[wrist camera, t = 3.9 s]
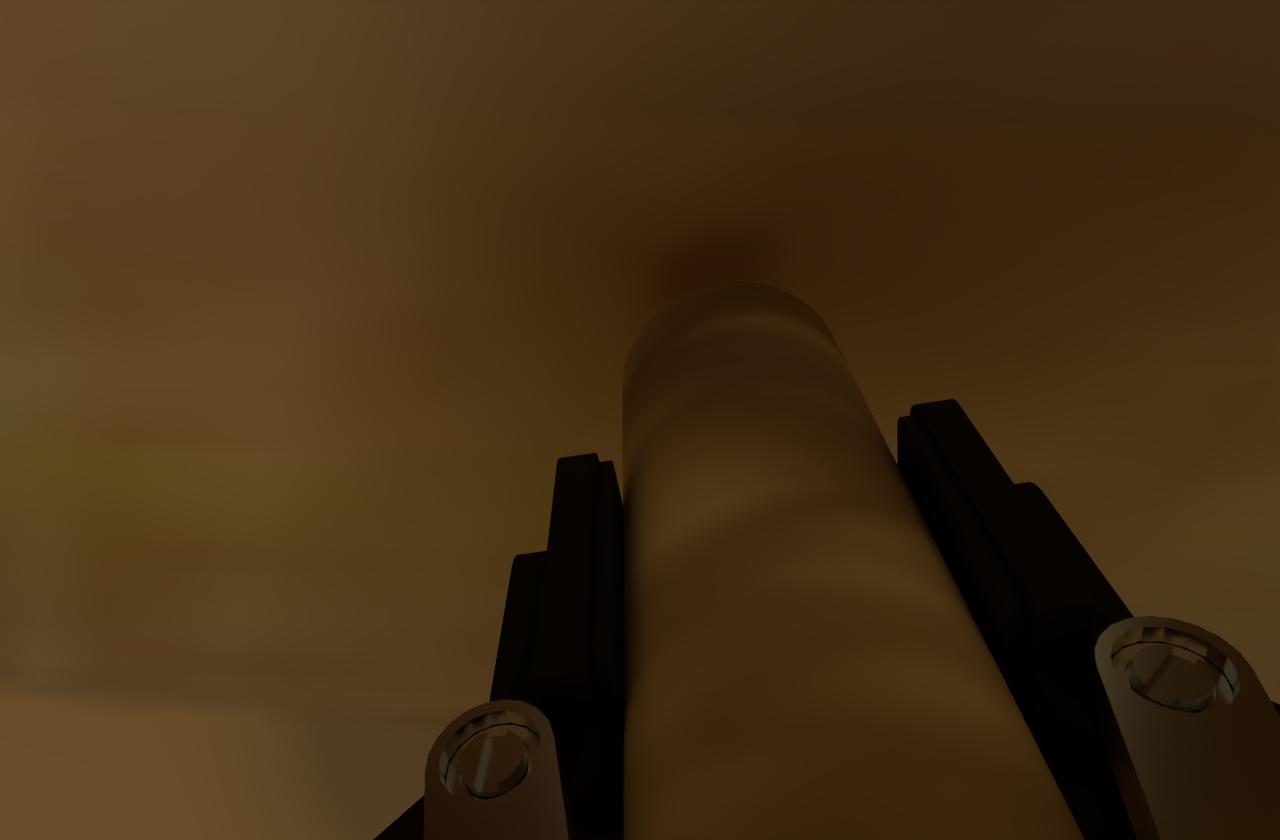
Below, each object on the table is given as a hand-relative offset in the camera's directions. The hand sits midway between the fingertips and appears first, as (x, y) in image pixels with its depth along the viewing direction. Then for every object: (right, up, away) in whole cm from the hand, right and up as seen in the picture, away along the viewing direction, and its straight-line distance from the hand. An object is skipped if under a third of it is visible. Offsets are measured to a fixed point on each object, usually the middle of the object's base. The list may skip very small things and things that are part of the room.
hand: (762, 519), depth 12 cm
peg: (0, +2, +3) cm, 4 cm away
